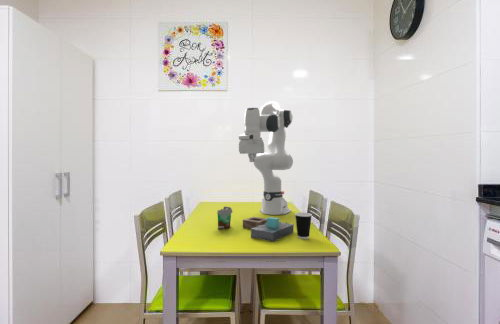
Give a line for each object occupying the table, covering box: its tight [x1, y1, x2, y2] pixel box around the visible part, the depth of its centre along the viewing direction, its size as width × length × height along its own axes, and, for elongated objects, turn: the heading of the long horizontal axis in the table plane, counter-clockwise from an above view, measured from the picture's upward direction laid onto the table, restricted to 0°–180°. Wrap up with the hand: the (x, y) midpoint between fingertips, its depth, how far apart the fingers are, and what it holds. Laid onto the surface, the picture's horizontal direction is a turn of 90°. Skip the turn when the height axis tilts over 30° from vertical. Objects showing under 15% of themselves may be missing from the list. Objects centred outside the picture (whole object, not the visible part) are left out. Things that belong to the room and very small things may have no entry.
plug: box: [266, 216, 280, 228], centre depth 149 cm, size 3×5×8 cm, turn 56°
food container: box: [216, 206, 233, 230], centre depth 162 cm, size 12×6×10 cm, turn 168°
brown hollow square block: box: [242, 216, 267, 230], centre depth 164 cm, size 10×10×4 cm
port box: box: [250, 221, 295, 242], centre depth 149 cm, size 20×12×4 cm, turn 146°
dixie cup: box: [294, 212, 313, 240], centre depth 144 cm, size 8×8×11 cm
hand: (252, 162), depth 170 cm, fingers closed
